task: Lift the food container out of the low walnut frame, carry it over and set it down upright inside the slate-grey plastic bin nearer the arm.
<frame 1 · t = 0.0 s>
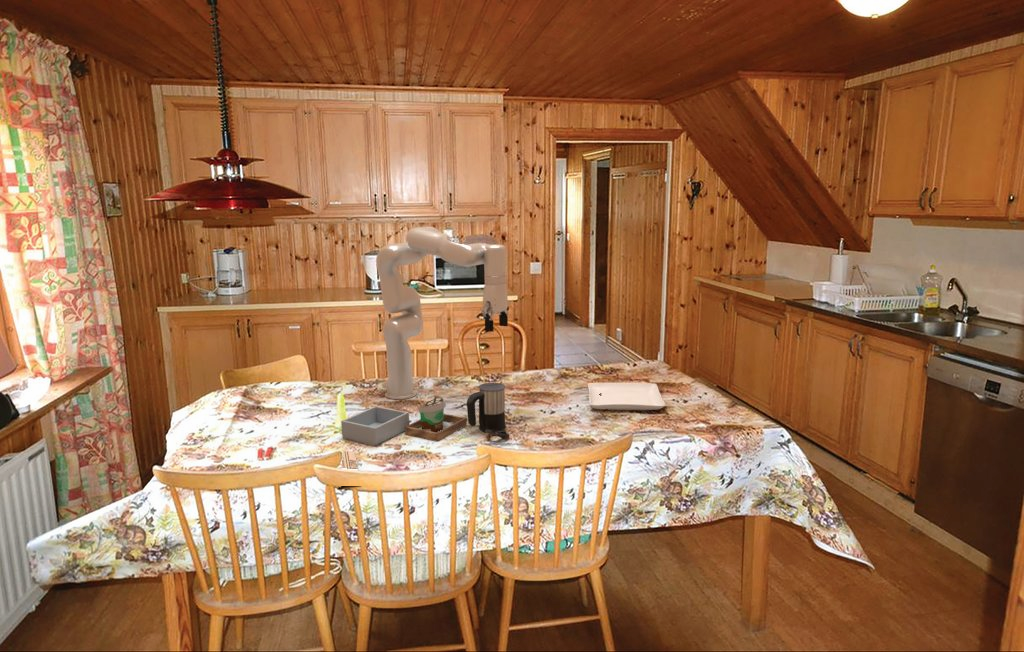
hand: (496, 328, 221), 31 cm above the table, tool pointing down, fingers open, 9 cm apart
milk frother: (495, 432, 209), on the table
food container: (436, 430, 212), resting in walnut frame
walnut frame: (436, 429, 212), on the table
grey bin: (376, 433, 209), on the table
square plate: (624, 402, 238), on the table
newspaper: (349, 472, 182), on the table
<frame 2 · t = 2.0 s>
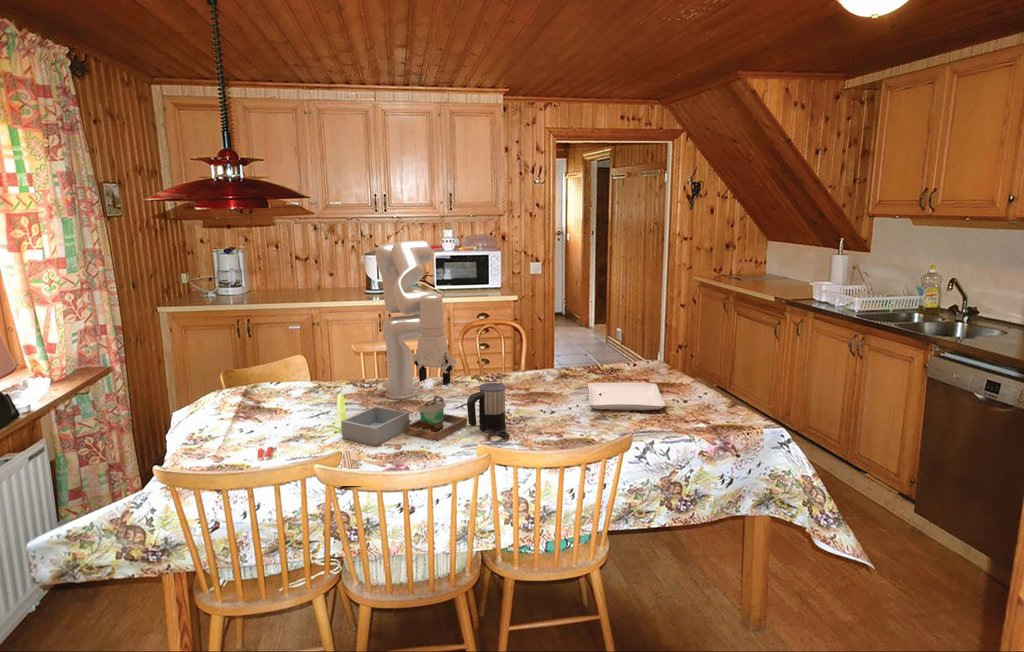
hand: (434, 382, 209), 17 cm above the table, tool pointing down, fingers open, 9 cm apart
nothing on the table moved.
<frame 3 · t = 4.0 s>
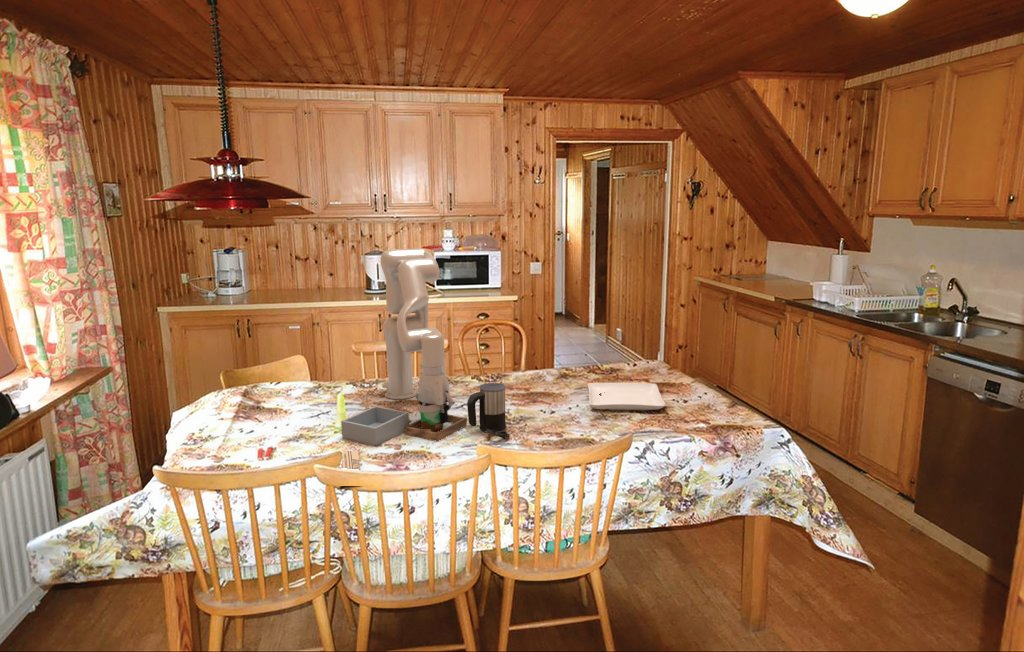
hand: (435, 420, 212), 3 cm above the table, tool pointing down, fingers closed on food container, 6 cm apart
food container: (436, 430, 212), resting in walnut frame, touching gripper
everything else where it was.
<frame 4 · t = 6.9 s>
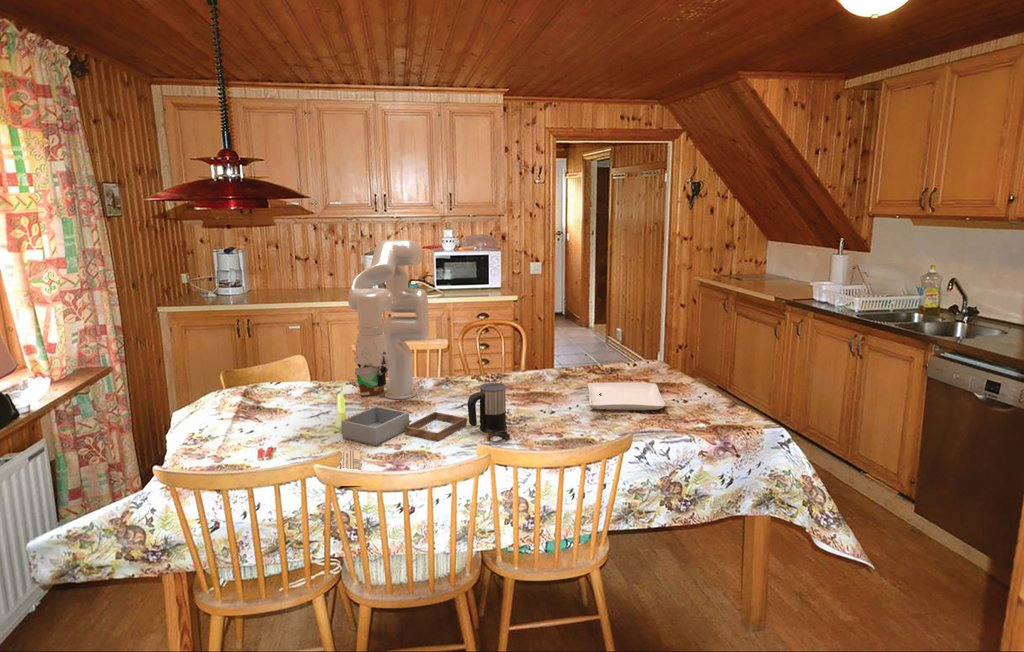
hand: (374, 383, 206), 17 cm above the table, tool pointing down, fingers closed on food container, 5 cm apart
food container: (377, 393, 206), point 14 cm above the table, touching gripper
everything else where it was.
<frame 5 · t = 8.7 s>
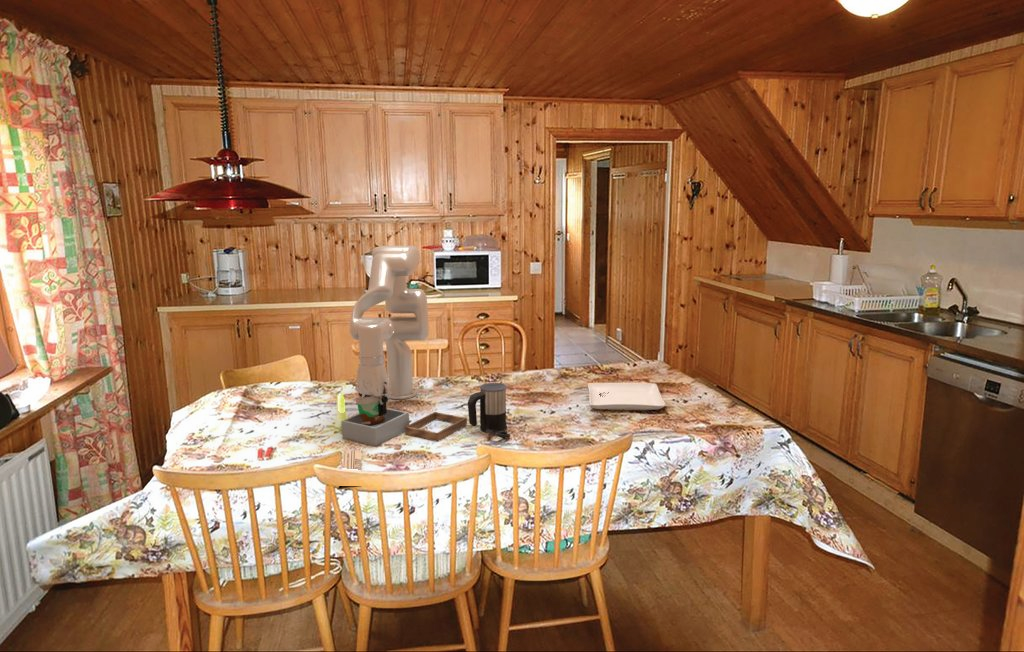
hand: (375, 412, 208), 7 cm above the table, tool pointing down, fingers closed on food container, 5 cm apart
food container: (378, 422, 208), point 4 cm above the table, touching gripper
when the fingers open (5 cm above the table, at t = 10.0 s): food container drops 1 cm, resting on grey bin.
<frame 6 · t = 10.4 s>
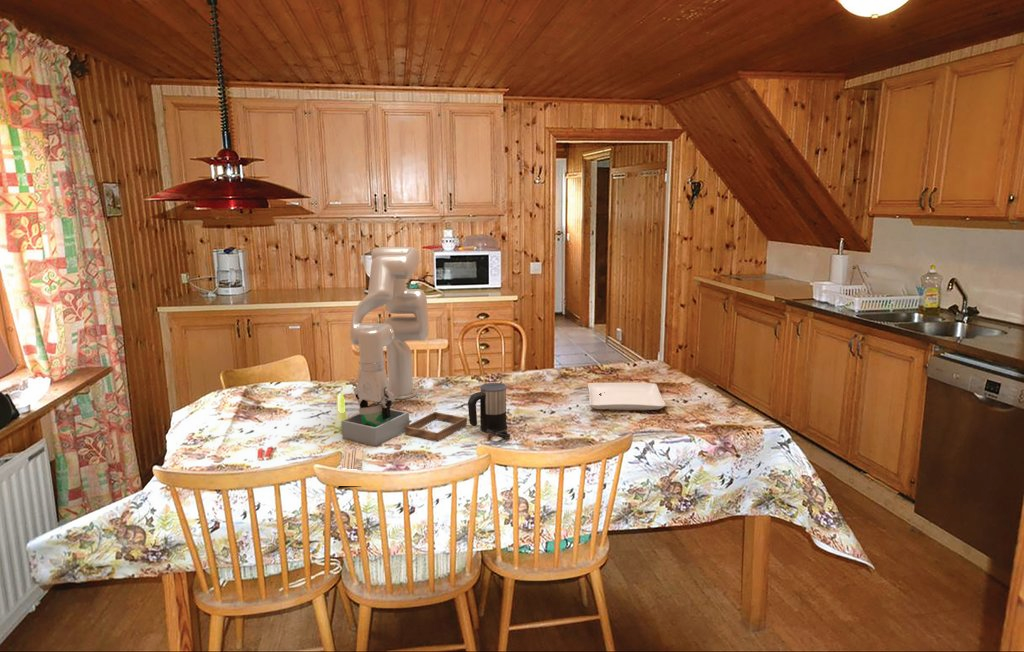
hand: (375, 415, 208), 6 cm above the table, tool pointing down, fingers open, 9 cm apart
food container: (382, 432, 208), point 1 cm above the table, touching grey bin, gripper
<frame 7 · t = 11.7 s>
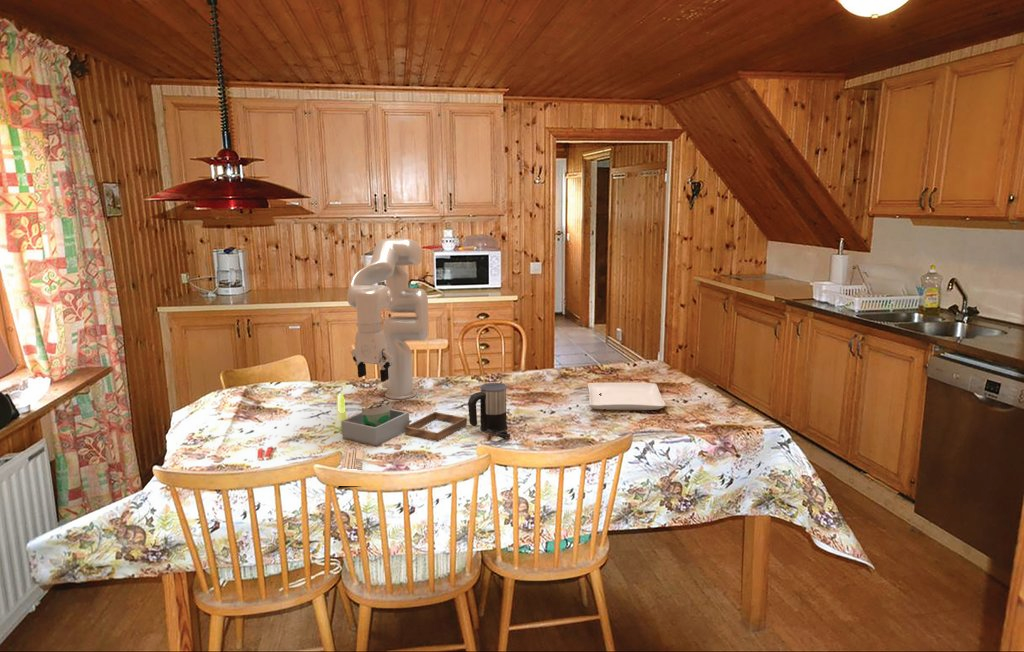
hand: (373, 378, 206), 19 cm above the table, tool pointing down, fingers open, 9 cm apart
food container: (382, 433, 208), resting on grey bin
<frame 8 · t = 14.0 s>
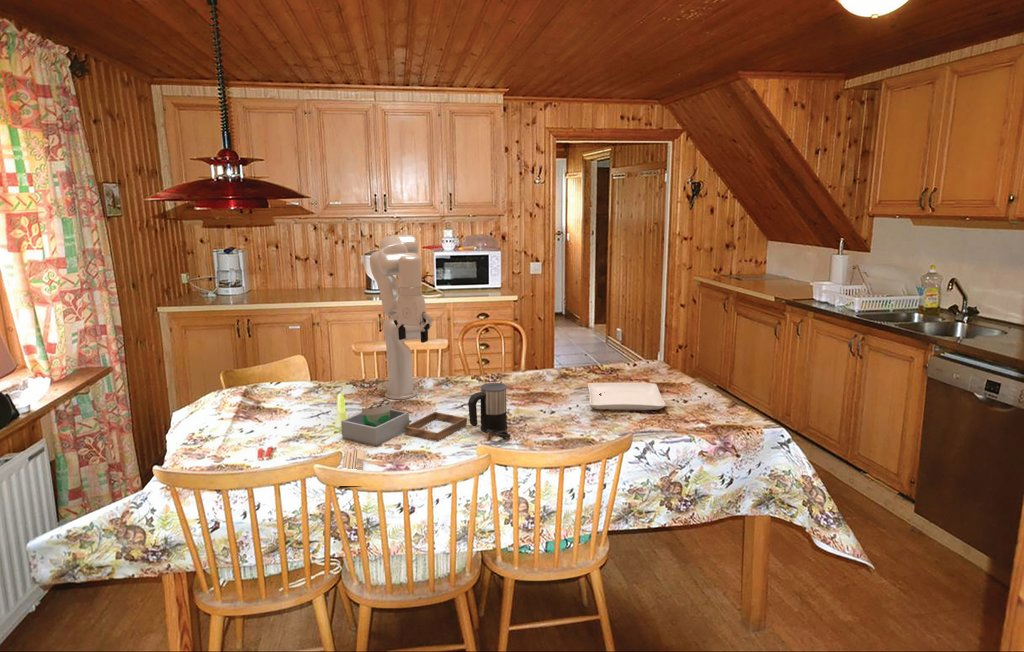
hand: (413, 340, 218), 28 cm above the table, tool pointing down, fingers open, 9 cm apart
at the end: food container inside the target area on the grey bin (2.2 cm from its centre), point 0.4 cm above the grey bin's base; food container tilted 0°; the gripper is holding nothing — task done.
